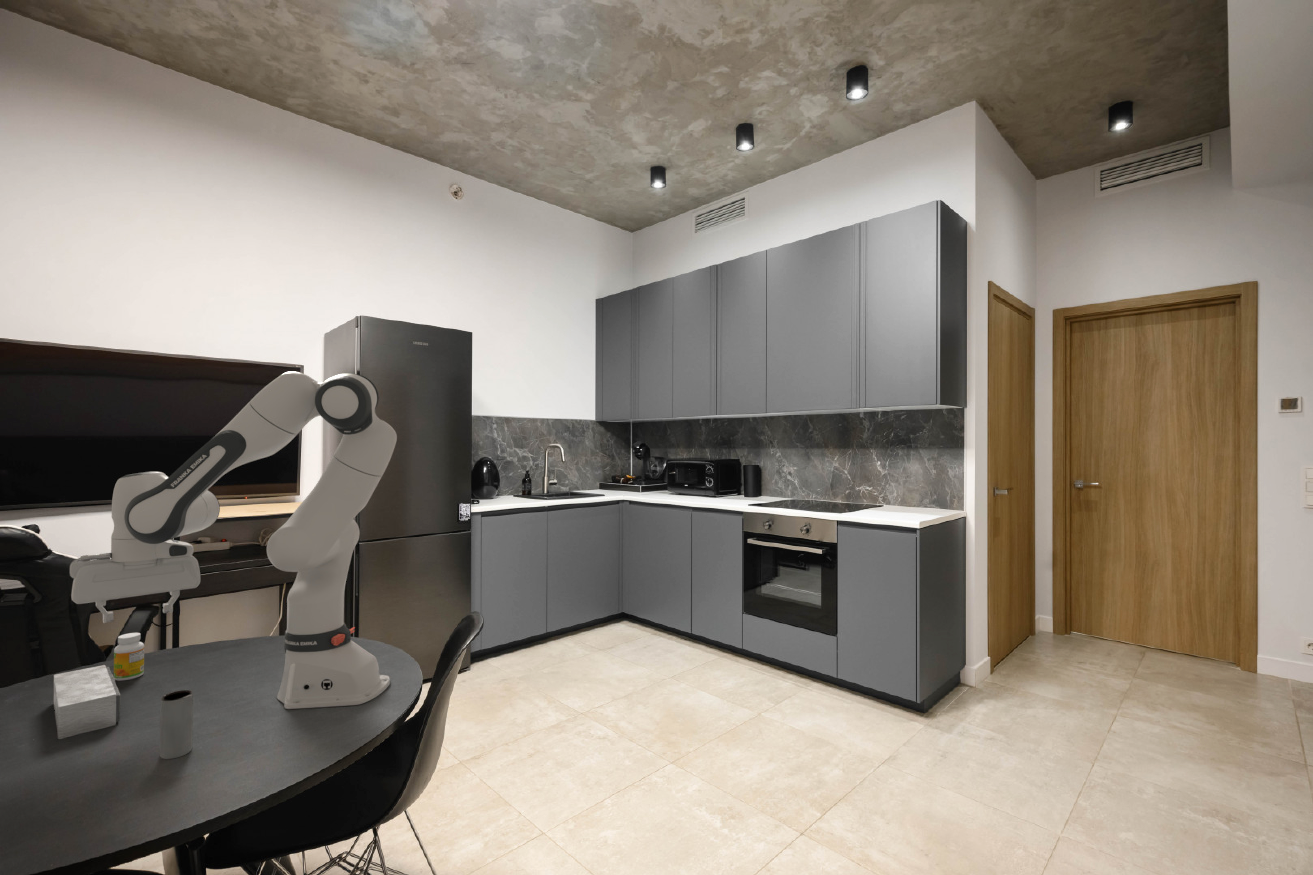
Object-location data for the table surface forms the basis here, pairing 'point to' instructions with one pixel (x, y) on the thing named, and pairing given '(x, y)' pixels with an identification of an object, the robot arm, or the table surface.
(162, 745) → the planter
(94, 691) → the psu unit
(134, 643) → the supplement bottle
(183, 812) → the table surface
